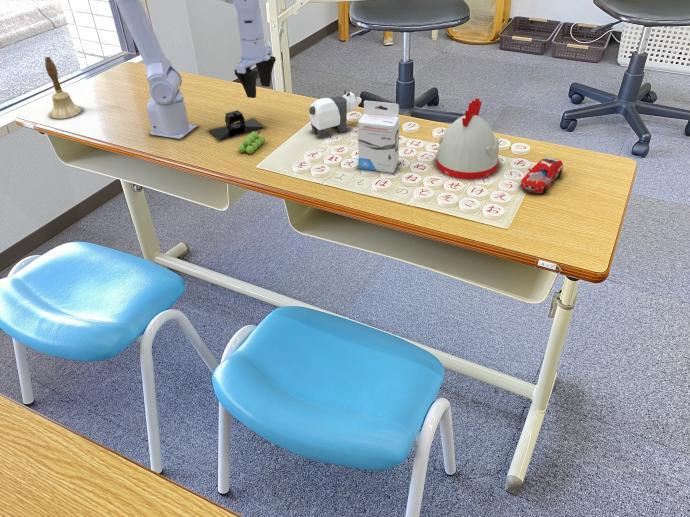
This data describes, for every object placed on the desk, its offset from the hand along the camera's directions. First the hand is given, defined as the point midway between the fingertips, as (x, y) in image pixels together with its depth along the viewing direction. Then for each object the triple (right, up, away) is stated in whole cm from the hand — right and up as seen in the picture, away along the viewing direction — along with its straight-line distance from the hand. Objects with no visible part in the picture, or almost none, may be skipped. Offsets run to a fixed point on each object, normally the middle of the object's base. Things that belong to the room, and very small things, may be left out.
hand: (258, 91), depth 150 cm
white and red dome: (+50, -21, -14) cm, 56 cm away
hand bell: (-58, -1, +18) cm, 60 cm away
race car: (+65, -26, -21) cm, 73 cm away
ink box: (+30, -21, -13) cm, 39 cm away
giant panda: (+19, -9, +3) cm, 22 cm away
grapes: (-1, -15, -4) cm, 15 cm away
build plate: (-7, -9, +5) cm, 12 cm away
